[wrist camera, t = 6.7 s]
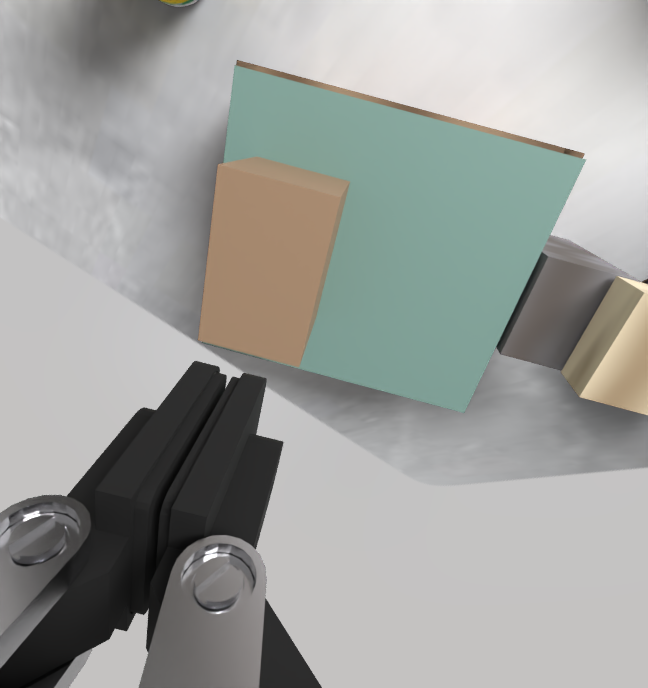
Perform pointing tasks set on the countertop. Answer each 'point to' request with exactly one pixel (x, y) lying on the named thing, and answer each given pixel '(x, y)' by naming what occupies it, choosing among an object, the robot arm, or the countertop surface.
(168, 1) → the supplement bottle
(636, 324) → the pale gold block
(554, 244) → the wooden box
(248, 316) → the lid
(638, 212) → the countertop surface
